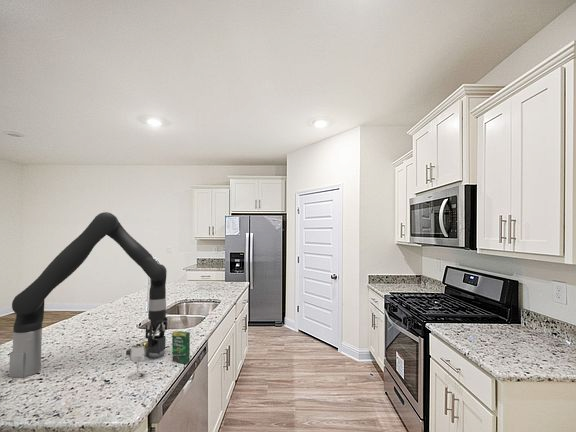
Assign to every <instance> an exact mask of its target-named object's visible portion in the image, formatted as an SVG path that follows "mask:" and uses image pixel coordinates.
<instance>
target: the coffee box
mask: <svg viewBox="0 0 576 432" xmlns="http://www.w3.org/2000/svg"><path fill="white" fill-rule="evenodd" d="M171 333H172V334H171V338H172V339H171V341H172V343H171V344H172V345H171V349H172V350H171V351H172V352H171V354H172V358H171V359H172V360H171V361H172V362H174V363H179V364H183V365H188V364H189V363H190V361H191V360H190V358H191V357H190V356H191V355H190V354H191V352H190V351H191V350H190V349H191V348H190V346H191V344H190V343H191V339H190V338H191V335H190V334H191V333H190V332H189V331H182V330H174V331H172V332H171Z"/></svg>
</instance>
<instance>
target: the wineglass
mask: <svg viewBox="0 0 576 432" xmlns="http://www.w3.org/2000/svg"><path fill="white" fill-rule="evenodd" d="M130 349H131V352H130V355H129V359H130V361H131V362H134V363H136V373H135V374H133V375H132V376H131V379H133V380H136V379H141V378H143V377H144V374H143V373H139V367H140V363H141V362H142V361H144V360H145V358H146V349H145V345H144V344H141V343H136V344H133V345H132V346H131V348H130Z"/></svg>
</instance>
